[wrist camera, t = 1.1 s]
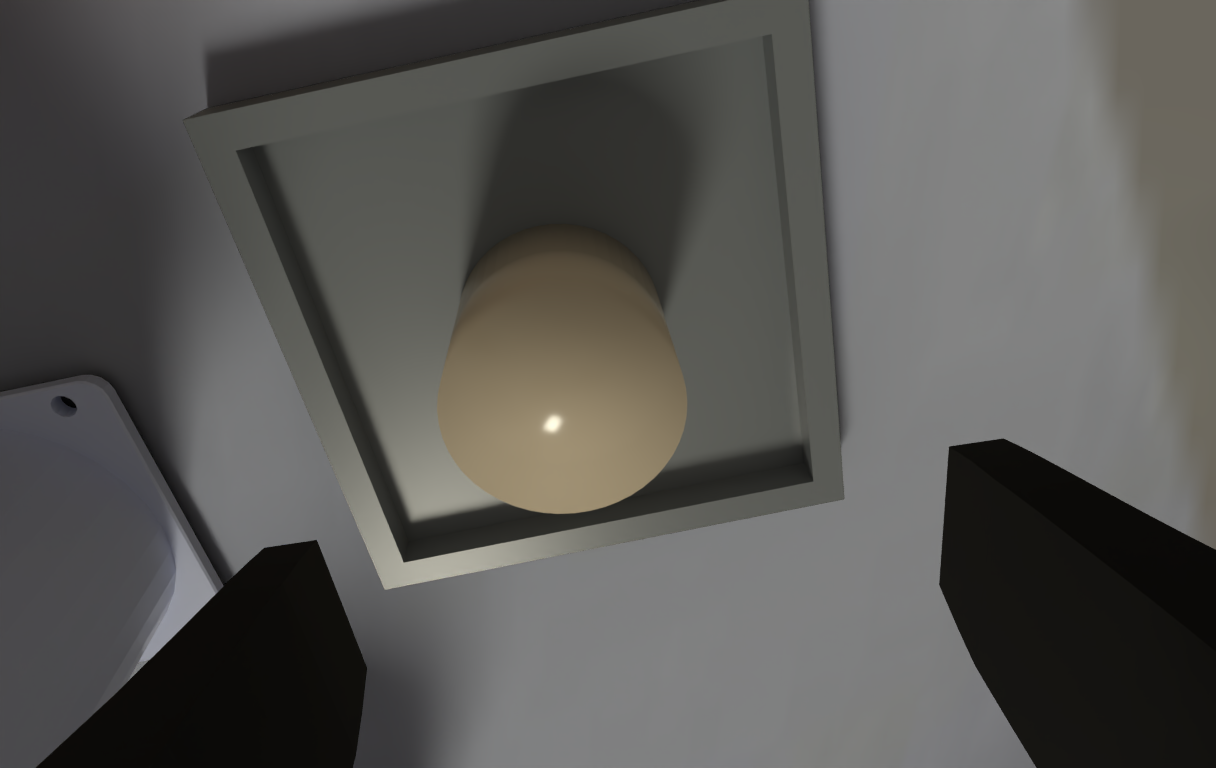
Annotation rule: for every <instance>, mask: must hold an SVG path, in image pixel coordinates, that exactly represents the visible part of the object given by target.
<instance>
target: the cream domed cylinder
mask: <svg viewBox="0 0 1216 768" xmlns="http://www.w3.org/2000/svg"><path fill="white" fill-rule="evenodd" d="M437 414H438V423H439V427H440V431H441V435H442V438H443V441H444V443H445V445H446V448H447V450H448V452H449V453H450V455H451V457H452V458H453V460H454V462H455V463H456V464H457V466H458V467H459V468H460V469H461V470H462V472H463V473H464V474H465V475H466V476H467V477H468V478H469V479H470V480H471V481H472V482H473V483H474V484H476V485H477V486H478V487H480V488H481V489H482V490H484V491H485V492H487V493H488V494H490V495H492V496H494V497H495V498H497V499H499V500H501V501H503V502H506V503H508V504H510V505H513V506H516V507H519V508H523V509H526V510H530V511H536V512H542V513H553V514H568V513H579V512H586V511H591V510H595V509H599V508H603V507H606V506H609V505H611V504H614V503H617V502H619V501H621V500H623V499H625V498H627V497H629V496H631V495H632V494H634V493H635V492H637V491H638V490H640V489H641V488H643V487H644V486H645V485H647V484H648V483H649V482H650V481H651V480H652V479H654V478H655V477H656V476H657V475H658V473H659V472H660V471H661V470H662V469H663V468H664V467H665V465H666V464H667V463H668V461H669V460H670V458H671V457H672V456H673V454H674V452H675V450H676V448H677V446H678V444H679V442H680V439H681V436H682V434H683V431H684V427H685V422H686V417H687V393H686V386H685V382H684V378H683V374H682V371H681V368H680V364H679V361H678V358H677V355H676V352H675V348H674V345H673V342H672V339H671V336H670V332H669V329H668V326H667V323H666V320H665V316H664V313H663V310H662V307H661V304H660V300H659V297H658V294H657V291H656V288H655V286H654V283H653V281H652V278H651V276H650V275H649V273H648V271H647V270H646V268H645V266H644V265H643V264H642V263H641V261H640V260H639V259H638V258H637V256H636V255H634V254H633V253H632V252H631V251H630V250H629V249H628V248H627V247H626V246H624V245H623V244H622V243H620V242H619V241H617V240H616V239H614V238H612V237H610V236H608V235H607V234H605V233H602V232H600V231H597V230H594V229H592V228H587V227H583V226H579V225H571V224H548V225H541V226H535V227H532V228H528V229H525V230H522V231H520V232H517V233H515V234H513V235H510V236H509V237H507V238H505V239H504V240H502V241H500V242H499V243H498V244H496V245H495V246H494V247H492V248H491V249H490V250H489V251H488V252H487V253H486V254H485V255H484V256H483V257H482V258H481V259H480V260H479V261H478V263H477V264H476V266H475V267H474V268H473V270H472V271H471V273H470V275H469V277H468V279H467V281H466V283H465V286H464V289H463V292H462V295H461V299H460V303H459V307H458V311H457V315H456V320H455V324H454V328H453V332H452V336H451V340H450V344H449V348H448V352H447V356H446V360H445V365H444V369H443V373H442V377H441V381H440V386H439V391H438V399H437Z"/></svg>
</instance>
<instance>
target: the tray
mask: <svg viewBox="0 0 1216 768" xmlns="http://www.w3.org/2000/svg"><path fill="white" fill-rule="evenodd" d="M183 123H184V125H185V127H186V130H187V132H188V134H189V137H190V139H191V141H192V143H193V146H194V148H195V150H196V153H197V155H198V157H199V160H200V162H201V164H202V167H203V169H204V171H205V174H206V176H207V178H208V181H209V183H210V185H211V188H212V190H213V192H214V195H215V197H216V199H217V201H218V204H219V206H220V208H221V211H222V213H223V215H224V218H225V220H226V222H227V225H228V227H229V229H230V232H231V234H232V236H233V239H234V241H235V243H236V246H237V248H238V250H239V252H240V255H241V257H242V259H243V262H244V264H245V266H246V269H247V271H248V273H249V276H250V278H251V280H252V283H253V285H254V287H255V290H256V292H257V294H258V297H259V299H260V301H261V304H262V306H263V308H264V310H265V313H266V315H267V317H268V320H269V322H270V324H271V327H272V329H273V331H274V334H275V336H276V338H277V341H278V343H279V345H280V348H281V350H282V352H283V355H284V357H285V359H286V362H287V364H288V366H289V368H290V371H291V373H292V375H293V378H294V380H295V382H296V385H297V387H298V389H299V392H300V394H301V396H302V399H303V401H304V403H305V406H306V408H307V410H308V413H309V415H310V417H311V420H312V422H313V424H314V426H315V429H316V431H317V433H318V436H319V438H320V440H321V443H322V445H323V447H324V450H325V452H326V454H327V457H328V459H329V461H330V464H331V466H332V468H333V471H334V473H335V475H336V478H337V480H338V482H339V484H340V487H341V489H342V491H343V494H344V496H345V498H346V501H347V503H348V505H349V508H350V510H351V512H352V515H353V517H354V519H355V522H356V524H357V526H358V529H359V531H360V533H361V536H362V538H363V540H364V542H365V545H366V547H367V549H368V552H369V554H370V556H371V559H372V561H373V563H374V566H375V568H376V570H377V573H378V575H379V577H380V580H381V582H382V584H383V587H384V589H385V590H386V589H391V588H396V587H401V586H406V585H412V584H417V583H422V582H427V581H432V580H437V579H442V578H447V577H452V576H457V575H462V574H467V573H472V572H478V571H483V570H488V569H493V568H498V567H503V566H508V565H513V564H518V563H523V562H528V561H533V560H538V559H544V558H549V557H554V556H559V555H564V554H569V553H574V552H579V551H584V550H589V549H594V548H599V547H604V546H609V545H615V544H620V543H625V542H630V541H635V540H640V539H645V538H650V537H655V536H660V535H665V534H670V533H675V532H681V531H686V530H691V529H696V528H701V527H706V526H711V525H716V524H721V523H726V522H731V521H736V520H741V519H747V518H752V517H757V516H762V515H767V514H772V513H777V512H782V511H787V510H792V509H797V508H802V507H807V506H813V505H818V504H823V503H828V502H833V501H838V500H843V499H844V486H843V473H842V459H841V445H840V431H839V417H838V403H837V389H836V375H835V361H834V347H833V334H832V320H831V306H830V292H829V278H828V264H827V250H826V236H825V222H824V209H823V195H822V181H821V167H820V153H819V139H818V125H817V111H816V97H815V84H814V70H813V56H812V42H811V28H810V14H809V0H698V1H693V2H689V3H684V4H680V5H675V6H671V7H666V8H662V9H657V10H652V11H648V12H643V13H639V14H634V15H630V16H625V17H621V18H616V19H611V20H607V21H602V22H598V23H593V24H589V25H584V26H580V27H575V28H571V29H566V30H561V31H557V32H552V33H548V34H543V35H539V36H534V37H530V38H525V39H520V40H516V41H511V42H507V43H502V44H498V45H493V46H489V47H484V48H480V49H475V50H470V51H466V52H461V53H457V54H452V55H448V56H443V57H439V58H434V59H429V60H425V61H420V62H416V63H411V64H407V65H402V66H398V67H393V68H389V69H384V70H379V71H375V72H370V73H366V74H361V75H357V76H352V77H348V78H343V79H338V80H334V81H329V82H325V83H320V84H316V85H311V86H307V87H302V88H298V89H293V90H288V91H284V92H279V93H275V94H270V95H266V96H261V97H257V98H252V99H247V100H243V101H238V102H234V103H229V104H225V105H220V106H216V107H211V108H207V109H205V110H202V111H200V112H198V113H196V114H194V115H192V116H190V117H188V118H186V119H184V120H183ZM548 224H571V225H579V226H583V227H587V228H592V229H594V230H597V231H600V232H602V233H605V234H607V235H608V236H610V237H612V238H614V239H616V240H617V241H619V242H620V243H622V244H623V245H624V246H626V247H627V248H628V249H629V250H630V251H631V252H632V253H633V254H634V255H636V256H637V258H638V259H639V260H640V261H641V263H642V264H643V265H644V266H645V268H646V270H647V271H648V273H649V275H650V276H651V278H652V281H653V283H654V286H655V288H656V291H657V294H658V297H659V300H660V304H661V307H662V310H663V313H664V316H665V320H666V323H667V326H668V329H669V332H670V336H671V339H672V342H673V345H674V348H675V352H676V355H677V358H678V361H679V364H680V368H681V371H682V374H683V378H684V382H685V386H686V393H687V417H686V422H685V427H684V431H683V434H682V436H681V439H680V442H679V444H678V446H677V448H676V450H675V452H674V454H673V456H672V457H671V458H670V460H669V461H668V463H667V464H666V465H665V467H664V468H663V469H662V470H661V471H660V472H659V473H658V475H657V476H656V477H655V478H654V479H652V480H651V481H650V482H649V483H648V484H647V485H645V486H644V487H643V488H641V489H640V490H638V491H637V492H635V493H634V494H632V495H631V496H629V497H627V498H625V499H623V500H621V501H619V502H617V503H614V504H611V505H609V506H606V507H603V508H599V509H595V510H591V511H586V512H579V513H568V514H553V513H542V512H536V511H530V510H526V509H523V508H519V507H516V506H513V505H510V504H508V503H506V502H503V501H501V500H499V499H497V498H495V497H494V496H492V495H490V494H488V493H487V492H485V491H484V490H482V489H481V488H480V487H478V486H477V485H476V484H474V483H473V482H472V481H471V480H470V479H469V478H468V477H467V476H466V475H465V474H464V473H463V472H462V470H461V469H460V468H459V467H458V466H457V464H456V463H455V462H454V460H453V458H452V457H451V455H450V453H449V452H448V450H447V448H446V445H445V443H444V441H443V438H442V435H441V431H440V427H439V423H438V414H437V399H438V391H439V386H440V381H441V377H442V373H443V369H444V365H445V360H446V356H447V352H448V348H449V344H450V340H451V336H452V332H453V328H454V324H455V320H456V315H457V311H458V307H459V303H460V299H461V295H462V292H463V289H464V286H465V283H466V281H467V279H468V277H469V275H470V273H471V271H472V270H473V268H474V267H475V266H476V264H477V263H478V261H479V260H480V259H481V258H482V257H483V256H484V255H485V254H486V253H487V252H488V251H489V250H490V249H491V248H492V247H494V246H495V245H496V244H498V243H499V242H500V241H502V240H504V239H505V238H507V237H509V236H510V235H513V234H515V233H517V232H520V231H522V230H525V229H528V228H532V227H535V226H541V225H548Z"/></svg>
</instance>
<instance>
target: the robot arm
mask: <svg viewBox="0 0 1216 768" xmlns="http://www.w3.org/2000/svg"><path fill="white" fill-rule="evenodd" d="M60 396H65V397H67V398H69V399H71V400H72V401H73V402H74V403H75V404H76V408H72V407H69V406H67V405H66V404H65V403H64V402H63V401H62V400H61V397H60ZM939 585H940V588H941V590H942V592H943V595H944V597H945V599H946V602H947V604H948V606H949V609H950V611H951V613H952V616H953V618H954V620H955V623H956V625H957V627H958V630H959V632H960V634H961V636H962V638H963V640H964V643H965V645H966V647H967V649H968V651H969V653H970V656H971V658H972V660H973V662H974V664H975V666H976V668H977V670H978V671H979V673H980V675H981V676H982V678H983V680H984V681H985V683H986V685H987V687H988V688H989V690H990V692H991V693H992V695H993V697H994V698H995V700H996V702H997V703H998V705H999V707H1000V708H1001V710H1002V712H1003V713H1004V715H1005V717H1006V718H1007V720H1008V722H1009V723H1010V725H1011V727H1012V728H1013V730H1014V732H1015V733H1016V735H1017V737H1018V738H1019V740H1020V741H1021V743H1022V745H1023V746H1024V748H1025V750H1026V751H1027V753H1028V755H1029V756H1030V758H1031V759H1032V761H1033V763H1034V764H1035V766H1036V768H1216V550H1215V549H1213V548H1211V547H1209V546H1207V545H1205V544H1203V543H1201V542H1199V541H1197V540H1195V539H1193V538H1191V537H1190V536H1188V535H1186V534H1184V533H1182V532H1180V531H1178V530H1176V529H1174V528H1172V527H1170V526H1168V525H1166V524H1165V523H1163V522H1161V521H1159V520H1157V519H1155V518H1153V517H1151V516H1149V515H1148V514H1146V513H1144V512H1142V511H1140V510H1138V509H1136V508H1134V507H1133V506H1131V505H1129V504H1127V503H1125V502H1123V501H1121V500H1120V499H1118V498H1116V497H1114V496H1112V495H1110V494H1108V493H1107V492H1105V491H1103V490H1101V489H1099V488H1097V487H1096V486H1094V485H1092V484H1090V483H1088V482H1086V481H1085V480H1083V479H1081V478H1079V477H1077V476H1075V475H1073V474H1072V473H1070V472H1068V471H1066V470H1064V469H1062V468H1061V467H1059V466H1057V465H1055V464H1053V463H1051V462H1049V461H1047V460H1046V459H1044V458H1042V457H1040V456H1038V455H1036V454H1034V453H1032V452H1030V451H1028V450H1026V449H1024V448H1022V447H1020V446H1018V445H1016V444H1014V443H1012V442H1010V441H1008V440H1006V439H997V440H991V441H984V442H977V443H970V444H963V445H957V446H950V447H949V455H948V469H947V483H946V498H945V512H944V526H943V540H942V554H941V569H940V583H939ZM146 660H149V661H148V662H147V663H146V664H145V665H144V666H143V667H142V668H141V669H140V670H139V671H138V672H137V673H136V674H135V675H134V676H133V677H132V678H131V679H130V680H129V678H130V676H131V674H132V673H133V671H134V669H135V667H136V665H137V664H138V662H141V661H146ZM366 673H367V667H366V664H365V662H364V659H363V657H362V654H361V651H360V649H359V646H358V644H357V641H356V639H355V636H354V634H353V631H352V629H351V626H350V623H349V621H348V618H347V616H346V613H345V611H344V608H343V606H342V603H341V600H340V598H339V595H338V593H337V590H336V588H335V585H334V583H333V580H332V578H331V575H330V572H329V570H328V567H327V565H326V562H325V560H324V557H323V555H322V552H321V550H320V547H319V544H318V542H317V540H314V541H308V542H301V543H294V544H287V545H281V546H274V547H267V548H264V549H263V550H261V551H260V552H259V553H258V554H257V555H256V556H255V557H254V558H252V559H251V560H250V561H249V562H248V563H247V564H246V565H245V566H244V567H243V568H242V569H241V570H240V571H239V572H238V573H237V574H235V575H234V576H233V577H232V578H231V579H230V580H229V581H228V582H227V583H226V584H225V585H224V586H223V584H222V582H221V580H220V579H219V577H218V575H217V573H216V571H215V570H214V568H213V566H212V564H211V562H210V561H209V559H208V557H207V555H206V553H205V552H204V550H203V548H202V546H201V544H200V543H199V541H198V539H197V537H196V535H195V534H194V532H193V530H192V528H191V526H190V524H189V523H188V521H187V519H186V517H185V515H184V514H183V512H182V510H181V508H180V506H179V505H178V503H177V501H176V499H175V497H174V496H173V494H172V492H171V490H170V488H169V487H168V485H167V483H166V481H165V479H164V478H163V476H162V474H161V472H160V470H159V469H158V467H157V465H156V463H155V461H154V459H153V458H152V456H151V454H150V452H149V450H148V449H147V447H146V445H145V443H144V441H143V440H142V438H141V436H140V434H139V432H138V431H137V429H136V427H135V425H134V423H133V422H132V420H131V418H130V416H129V414H128V413H127V411H126V409H125V407H124V405H123V404H122V402H121V400H120V398H119V396H118V394H117V393H116V391H115V389H114V388H113V387H112V386H111V384H110V383H109V382H107V381H106V380H104V379H103V378H101V377H98V376H94V375H79V376H75V377H70V378H65V379H60V380H56V381H51V382H46V383H41V384H36V385H32V386H27V387H22V388H17V389H13V390H8V391H3V392H0V768H353V764H354V760H355V756H356V750H357V743H358V737H359V730H360V723H361V716H362V707H363V699H364V690H365V681H366ZM128 680H129V681H128ZM127 681H128V682H127Z"/></svg>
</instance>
